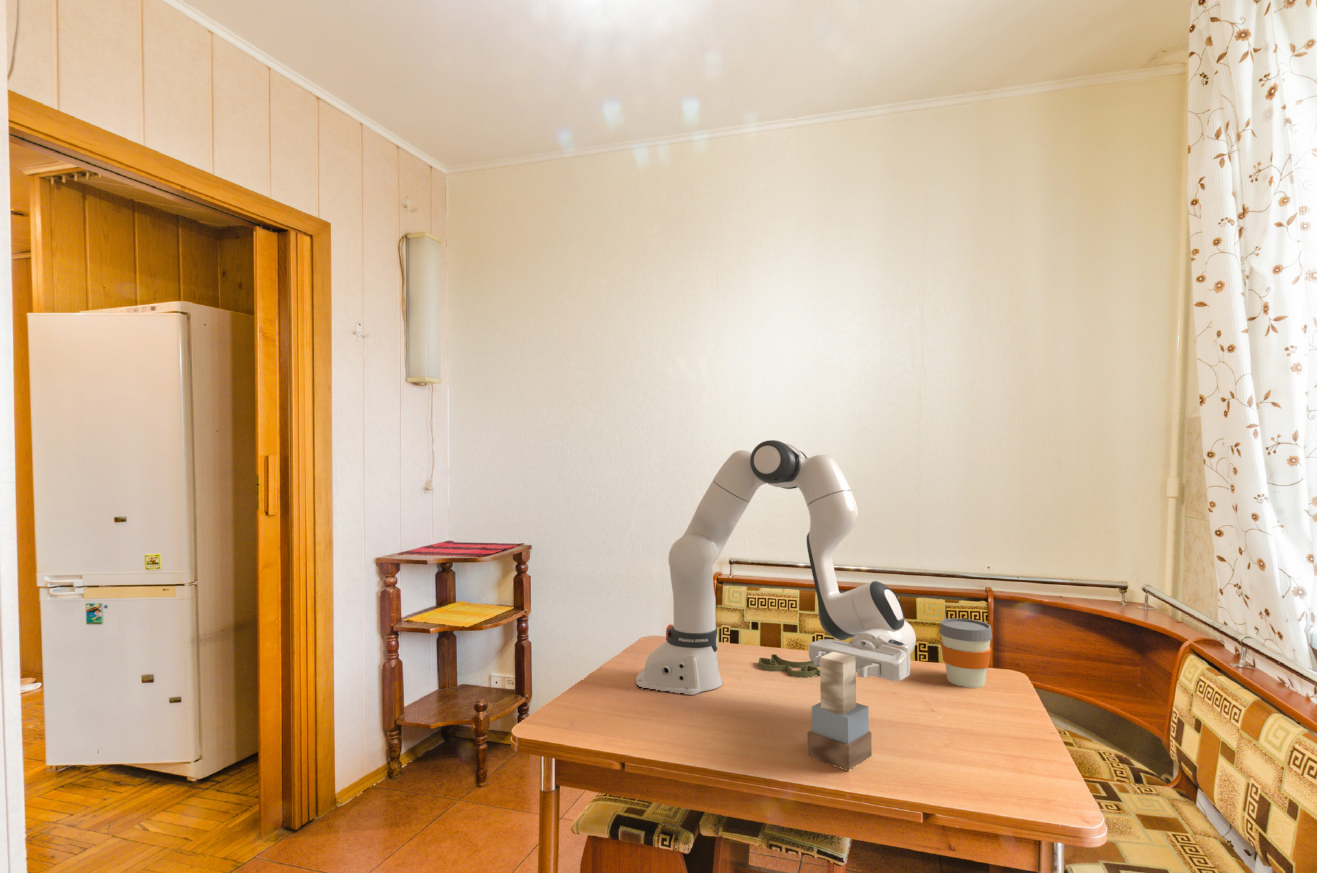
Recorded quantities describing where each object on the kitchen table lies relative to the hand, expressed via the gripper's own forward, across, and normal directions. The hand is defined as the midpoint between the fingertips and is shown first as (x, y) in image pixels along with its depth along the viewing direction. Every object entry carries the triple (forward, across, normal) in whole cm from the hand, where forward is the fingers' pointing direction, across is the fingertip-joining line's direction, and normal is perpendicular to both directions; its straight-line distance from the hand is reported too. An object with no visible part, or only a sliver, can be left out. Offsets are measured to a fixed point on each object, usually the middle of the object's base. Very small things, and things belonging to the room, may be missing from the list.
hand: (838, 667), depth 134 cm
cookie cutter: (-39, -36, +18) cm, 56 cm away
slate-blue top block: (0, 0, +13) cm, 13 cm away
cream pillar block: (0, 0, +8) cm, 8 cm away
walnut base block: (0, 0, +18) cm, 18 cm away
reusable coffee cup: (-62, +3, +18) cm, 64 cm away
